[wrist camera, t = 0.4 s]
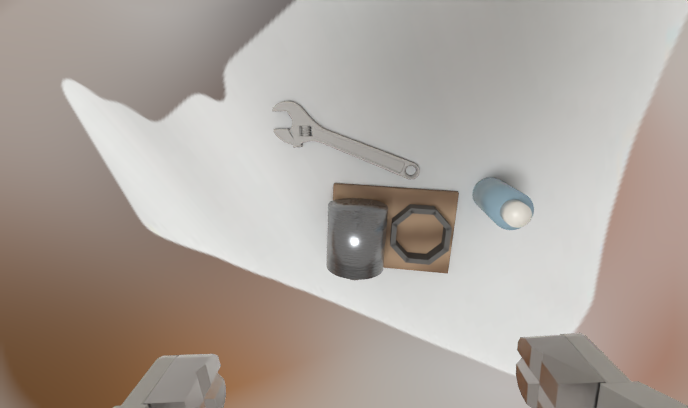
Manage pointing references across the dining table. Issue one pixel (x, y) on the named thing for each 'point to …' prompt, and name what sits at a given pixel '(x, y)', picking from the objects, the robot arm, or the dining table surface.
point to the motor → (356, 237)
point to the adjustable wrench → (336, 141)
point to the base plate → (409, 221)
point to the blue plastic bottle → (503, 203)
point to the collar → (420, 257)
